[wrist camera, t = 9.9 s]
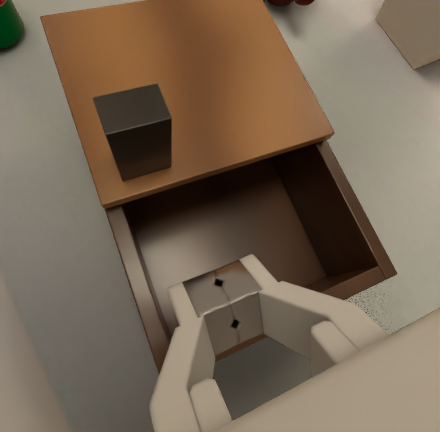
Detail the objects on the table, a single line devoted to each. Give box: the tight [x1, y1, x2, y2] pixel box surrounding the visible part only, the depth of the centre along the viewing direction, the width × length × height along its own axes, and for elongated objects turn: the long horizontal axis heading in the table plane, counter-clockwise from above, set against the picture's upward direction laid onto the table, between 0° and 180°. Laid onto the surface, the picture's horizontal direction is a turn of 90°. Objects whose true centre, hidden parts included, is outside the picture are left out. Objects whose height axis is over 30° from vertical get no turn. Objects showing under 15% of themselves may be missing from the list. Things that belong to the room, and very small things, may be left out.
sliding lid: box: [40, 0, 334, 209], centre depth 19 cm, size 16×14×6 cm
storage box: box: [105, 140, 397, 375], centre depth 23 cm, size 16×14×8 cm
